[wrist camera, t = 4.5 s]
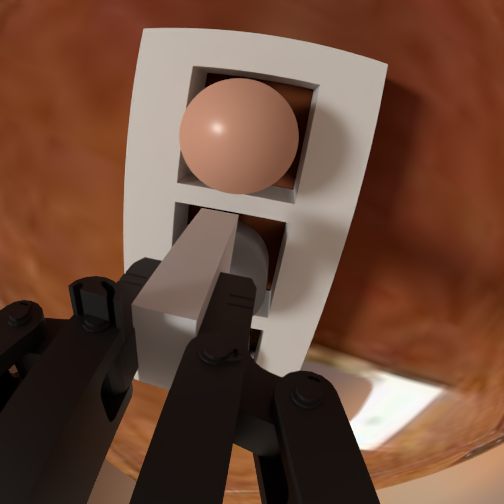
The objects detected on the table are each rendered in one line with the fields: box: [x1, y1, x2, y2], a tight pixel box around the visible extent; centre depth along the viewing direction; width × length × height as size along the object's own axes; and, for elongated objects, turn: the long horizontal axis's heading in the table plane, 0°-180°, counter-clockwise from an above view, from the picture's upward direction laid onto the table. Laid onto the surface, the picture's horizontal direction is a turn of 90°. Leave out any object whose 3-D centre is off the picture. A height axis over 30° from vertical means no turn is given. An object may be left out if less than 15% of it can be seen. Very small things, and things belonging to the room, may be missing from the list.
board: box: [124, 28, 388, 380], centre depth 18 cm, size 24×12×3 cm, turn 170°
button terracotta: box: [179, 78, 299, 194], centre depth 13 cm, size 5×5×3 cm
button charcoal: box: [229, 221, 269, 317], centre depth 16 cm, size 5×5×3 cm
